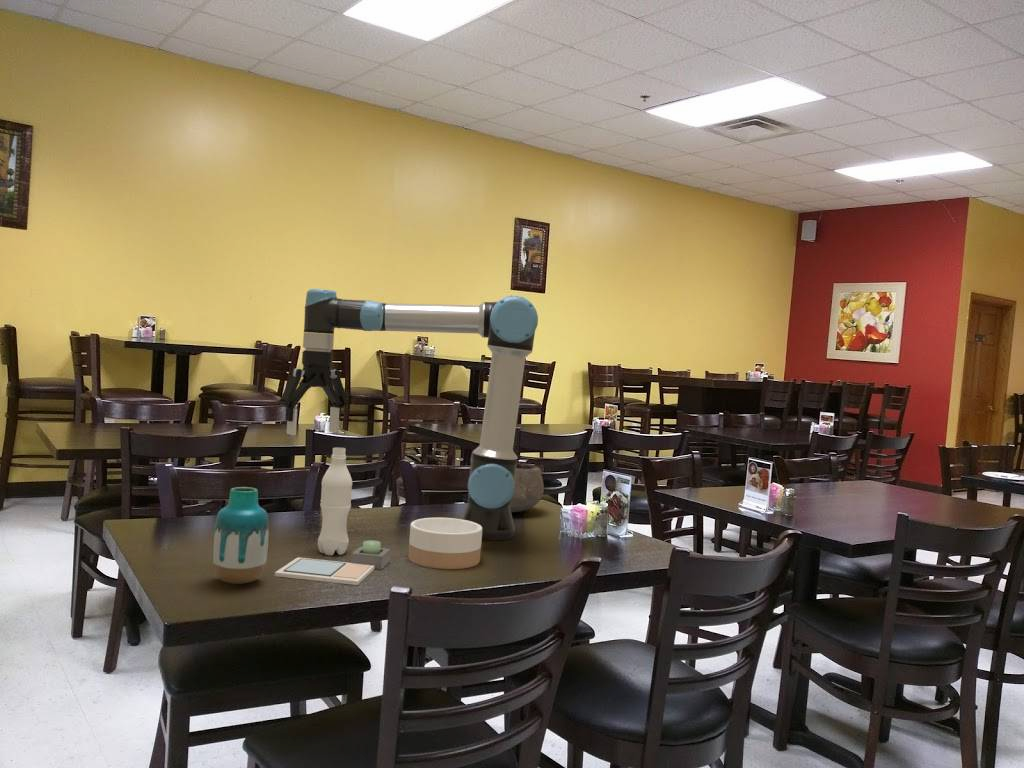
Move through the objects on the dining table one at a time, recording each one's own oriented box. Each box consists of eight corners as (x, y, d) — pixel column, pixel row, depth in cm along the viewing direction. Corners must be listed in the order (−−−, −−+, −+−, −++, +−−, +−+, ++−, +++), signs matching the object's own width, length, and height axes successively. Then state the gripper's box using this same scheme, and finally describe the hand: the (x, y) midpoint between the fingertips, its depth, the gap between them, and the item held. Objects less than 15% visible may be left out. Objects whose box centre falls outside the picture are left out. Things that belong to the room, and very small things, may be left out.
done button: (381, 556, 192) (382, 541, 192) (377, 560, 188) (378, 545, 188) (364, 554, 193) (365, 539, 192) (359, 558, 189) (360, 543, 188)
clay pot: (468, 514, 253) (471, 465, 252) (481, 502, 273) (485, 457, 273) (536, 522, 249) (540, 472, 249) (545, 509, 270) (549, 463, 269)
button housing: (389, 561, 194) (390, 549, 193) (381, 569, 187) (382, 556, 186) (360, 558, 194) (360, 546, 194) (351, 566, 187) (351, 553, 187)
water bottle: (351, 550, 201) (358, 447, 200) (342, 558, 194) (349, 451, 193) (322, 547, 202) (329, 445, 200) (312, 555, 194) (319, 448, 193)
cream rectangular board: (374, 569, 187) (375, 564, 187) (357, 585, 174) (357, 580, 174) (297, 560, 189) (297, 556, 189) (274, 576, 176) (275, 571, 176)
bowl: (451, 574, 188) (454, 537, 188) (393, 558, 197) (395, 524, 197) (493, 560, 203) (496, 526, 202) (437, 546, 212) (439, 514, 211)
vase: (218, 573, 175) (224, 483, 174) (270, 576, 176) (275, 486, 175) (204, 588, 164) (210, 492, 163) (259, 591, 165) (265, 495, 164)
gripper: (345, 351, 224) (340, 429, 225) (267, 347, 204) (262, 433, 205) (364, 352, 220) (359, 432, 221) (287, 349, 200) (281, 437, 201)
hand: (312, 433), depth 213 cm, fingers open, 13 cm apart
